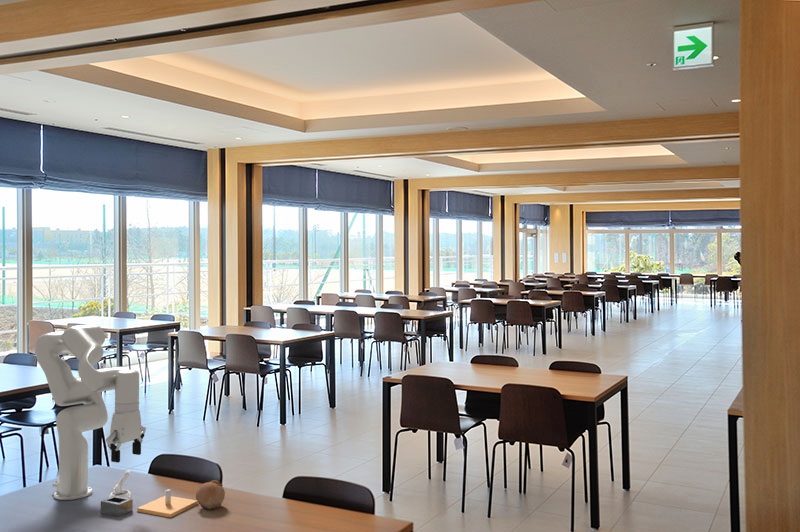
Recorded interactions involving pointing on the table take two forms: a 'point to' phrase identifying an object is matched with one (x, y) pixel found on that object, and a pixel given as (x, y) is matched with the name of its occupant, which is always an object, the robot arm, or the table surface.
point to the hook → (121, 487)
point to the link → (116, 506)
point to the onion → (210, 494)
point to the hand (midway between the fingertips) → (126, 458)
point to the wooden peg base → (167, 505)
